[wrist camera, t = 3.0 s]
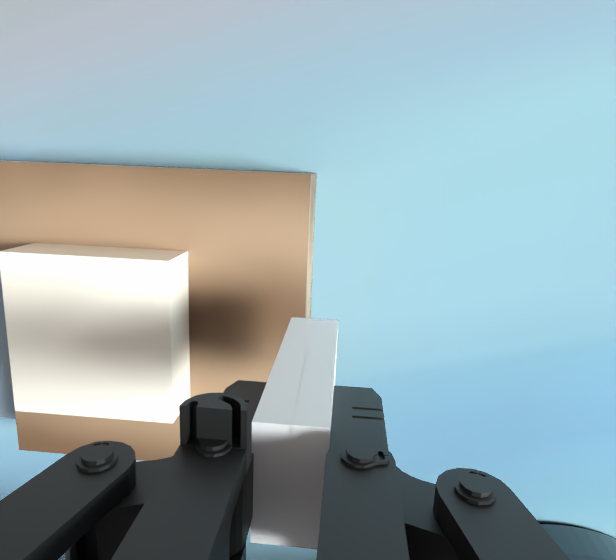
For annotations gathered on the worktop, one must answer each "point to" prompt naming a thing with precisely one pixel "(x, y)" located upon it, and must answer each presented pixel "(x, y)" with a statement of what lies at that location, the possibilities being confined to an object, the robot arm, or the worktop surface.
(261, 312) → the board
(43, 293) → the tile
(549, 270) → the worktop surface
